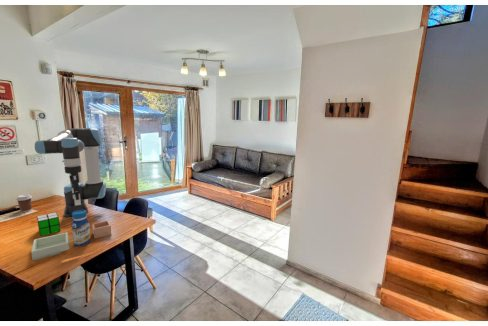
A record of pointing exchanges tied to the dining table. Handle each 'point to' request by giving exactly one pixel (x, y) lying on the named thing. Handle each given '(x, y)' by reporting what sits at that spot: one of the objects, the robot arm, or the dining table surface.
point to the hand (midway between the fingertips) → (76, 201)
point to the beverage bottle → (80, 228)
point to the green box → (50, 246)
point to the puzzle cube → (48, 224)
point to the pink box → (101, 229)
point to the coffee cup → (24, 202)
